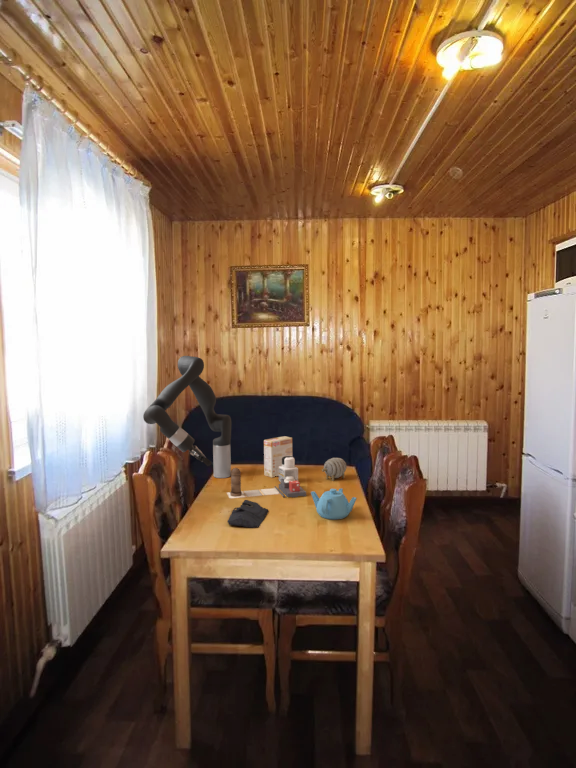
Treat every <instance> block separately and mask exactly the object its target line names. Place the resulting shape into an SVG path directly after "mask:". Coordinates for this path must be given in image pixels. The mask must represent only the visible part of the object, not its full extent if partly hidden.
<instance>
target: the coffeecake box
mask: <svg viewBox="0 0 576 768" xmlns="http://www.w3.org/2000/svg"><path fill="white" fill-rule="evenodd" d="M263 454H264V455H263V466H264V467H263V468H264V471H263V472H264V473H263V474H264V476H266V477H268V478H275V476H276V477H279V466H282V458H283V457H285V456H292V457H293V437H290V436H285V435H284V436H278V437H272V438H267V439H264V440H263Z"/></svg>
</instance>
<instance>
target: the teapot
mask: <svg viewBox="0 0 576 768" xmlns="http://www.w3.org/2000/svg"><path fill="white" fill-rule="evenodd" d="M343 492H344V489H343V488H339V489H338V490H337V489H336V488H330V489H329V490H326V491H324V492H323V493H322V495H321V496H320V497H319V496H318V494H317V493H316V491H310V495H311V498H312V500H313V503H314V506H315V508H316V513H317V514H318V515H319V516H320V517H321V518H322V519H327V520H342V519H345V518H346V517H348V515H350V513H351V512H352V511H353V508H354V506H355V503H356V500H357V497H354V496H353V497H351V499H350V500H349V501H348V498H347V497H346V495H345V494H344V493H343Z"/></svg>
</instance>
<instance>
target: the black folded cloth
mask: <svg viewBox="0 0 576 768" xmlns="http://www.w3.org/2000/svg"><path fill="white" fill-rule="evenodd" d="M268 514H269V509H267V508H266V507H262V506H261V505H260V504H259V503H258V502H256V501H253V500H252V501H251V500H249V499H244V501H243V502H242V503H241V505H240V506H238V507H234V508H233V510H232V511H231V513H230V515H229V517H228V519H227V524H228V525H229V526H238V527H244V528H250V529H256V528H260V527H261V524H263V522H264V521H265V519H266V517H267V515H268Z"/></svg>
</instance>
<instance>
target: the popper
mask: <svg viewBox="0 0 576 768" xmlns="http://www.w3.org/2000/svg"><path fill="white" fill-rule="evenodd" d="M294 479H295V478H294ZM278 489H279V491H280V492H281V493H282V494H283V495H284V494H285V495H286V496H287V497H292V498H299V497H298V496H303V497H307V491H306V490H305V489H304V488H303V487H302V486H301V483H300V481H299V479H298V480H296V479H295V481H289V483H285V482H284V479H281V482H280V483H278ZM285 495H284V496H285ZM286 496H285V497H286ZM287 497H286V498H287Z"/></svg>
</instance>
